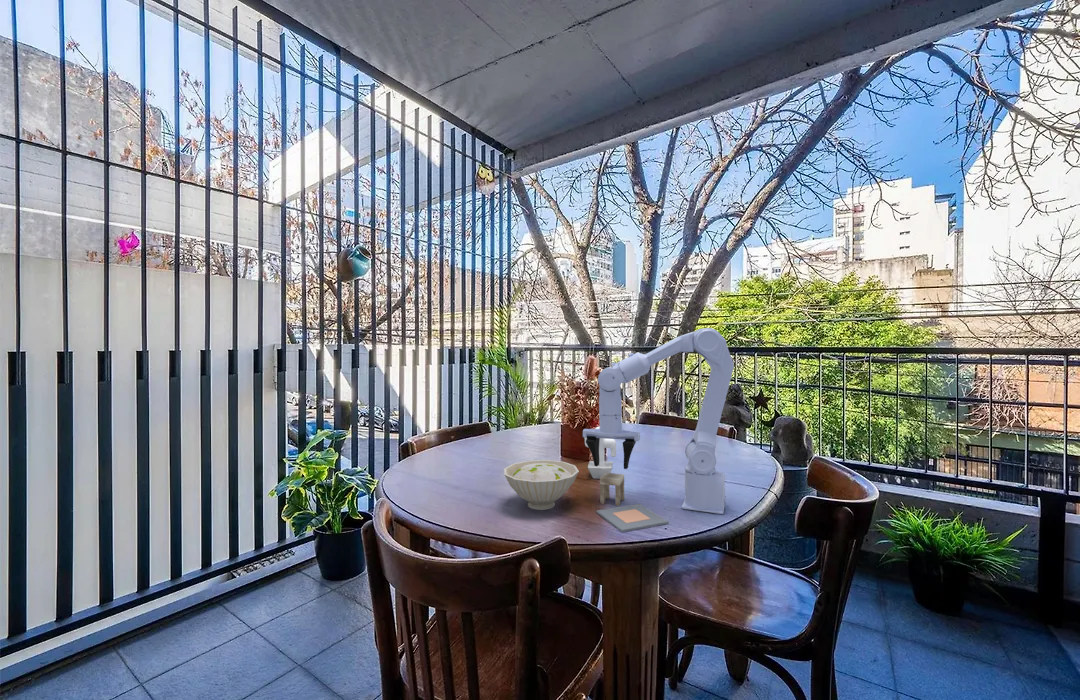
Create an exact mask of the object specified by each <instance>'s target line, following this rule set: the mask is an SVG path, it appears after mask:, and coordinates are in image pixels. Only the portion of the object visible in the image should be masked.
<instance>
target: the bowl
mask: <svg viewBox="0 0 1080 700" xmlns="http://www.w3.org/2000/svg"><path fill="white" fill-rule="evenodd" d="M579 472H580V471H579V469H578V468H577V466H576V465H575V464H572V463H568V462H566V461H562V460H551V459H550V460H549V459H537V460H536V459H535V460H525V461H520V462H515V463H512V464H510V465H508V466H507V467H504V469H503V474H504V476H505V479H506V481H507V482H508V485H509V486H510V487H511V489H512V490H513V491H514V492H515V493H516V494H517V495H518V496H519V497H520V498H522V499H523V500H525V501H527V502H528V503H527V507H528V508H530V509H532V510H538V511H543V510H551V509H553V508H554V507H555V506H556V503H555V502H556V501H557V500H558V499H561V498H562V497H563V496H564V495H565V493H567V491H568V490H569V489H570V488H571V487H572V486H573V484H574V483H575V480H576V478H577V476H578V474H579Z"/></svg>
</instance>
